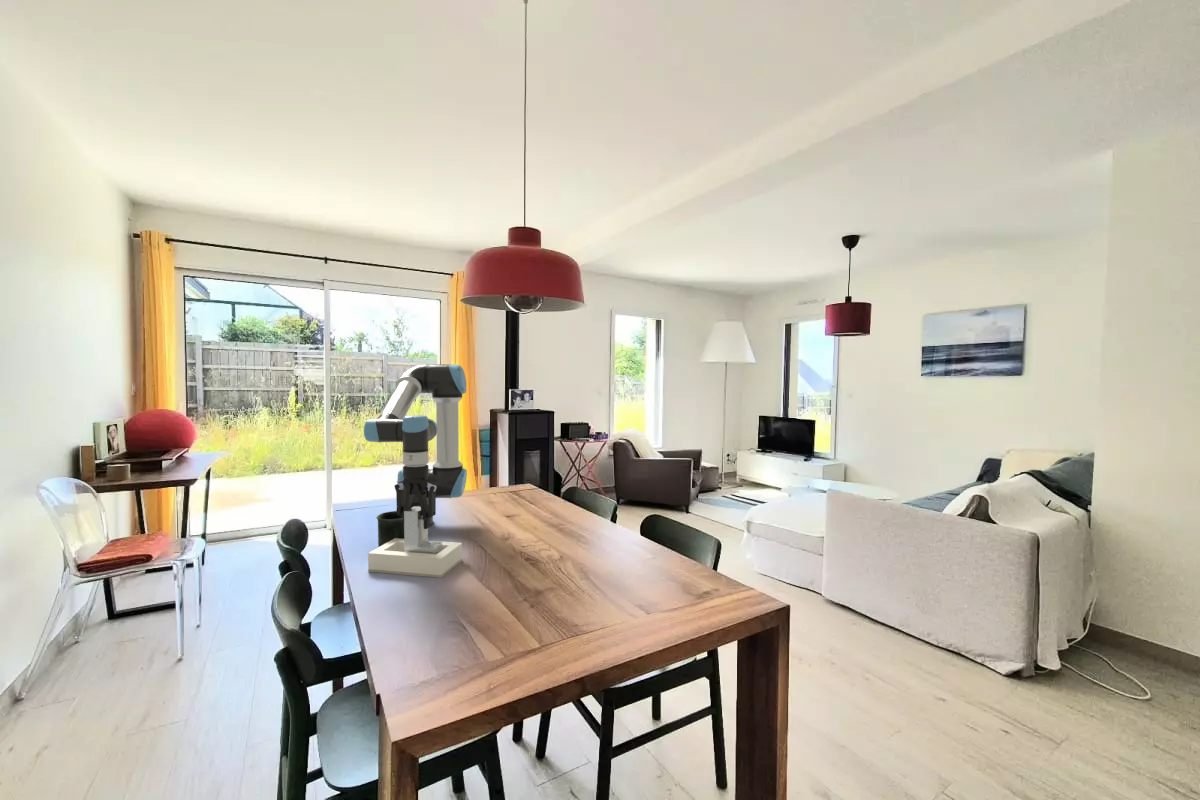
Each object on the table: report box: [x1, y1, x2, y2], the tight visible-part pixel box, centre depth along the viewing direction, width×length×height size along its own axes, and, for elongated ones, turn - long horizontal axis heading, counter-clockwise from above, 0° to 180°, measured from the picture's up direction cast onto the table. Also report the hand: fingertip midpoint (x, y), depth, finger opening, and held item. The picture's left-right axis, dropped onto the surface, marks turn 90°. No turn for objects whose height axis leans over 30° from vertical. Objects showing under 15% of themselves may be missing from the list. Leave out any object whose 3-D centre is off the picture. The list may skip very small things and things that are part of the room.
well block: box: [367, 538, 463, 579], centre depth 155 cm, size 14×24×6 cm, turn 80°
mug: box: [376, 510, 404, 548], centre depth 170 cm, size 11×15×12 cm
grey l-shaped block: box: [404, 506, 443, 554], centre depth 154 cm, size 6×10×13 cm, turn 80°
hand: (416, 538), depth 154 cm, fingers closed on grey l-shaped block, 4 cm apart
